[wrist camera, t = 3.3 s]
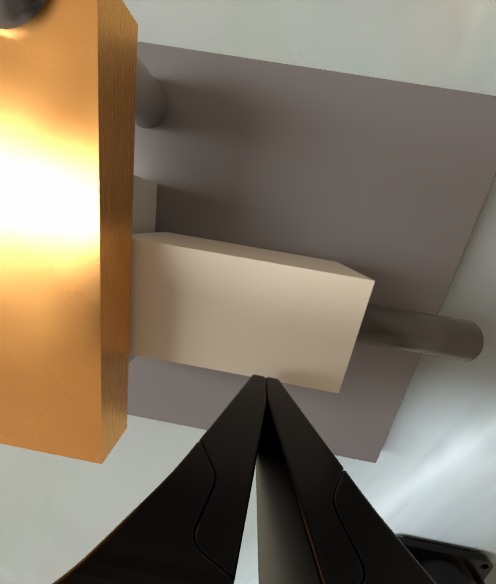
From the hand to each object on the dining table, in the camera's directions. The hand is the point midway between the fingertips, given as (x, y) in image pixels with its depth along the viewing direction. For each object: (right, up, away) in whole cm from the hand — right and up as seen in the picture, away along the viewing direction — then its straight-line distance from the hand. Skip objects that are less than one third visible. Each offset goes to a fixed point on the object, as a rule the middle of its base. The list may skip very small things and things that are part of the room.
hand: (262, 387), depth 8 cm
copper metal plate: (-6, +5, -1) cm, 8 cm away
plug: (+2, +3, +4) cm, 5 cm away
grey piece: (+1, +3, +5) cm, 6 cm away
